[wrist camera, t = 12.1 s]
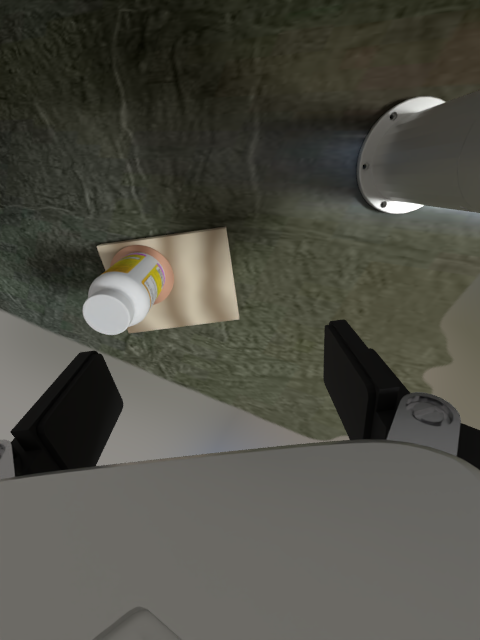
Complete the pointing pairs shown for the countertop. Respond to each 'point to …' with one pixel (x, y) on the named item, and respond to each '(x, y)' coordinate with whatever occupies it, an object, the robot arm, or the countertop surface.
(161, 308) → the seat board
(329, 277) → the countertop surface
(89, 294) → the supplement bottle
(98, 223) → the countertop surface
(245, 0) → the countertop surface
